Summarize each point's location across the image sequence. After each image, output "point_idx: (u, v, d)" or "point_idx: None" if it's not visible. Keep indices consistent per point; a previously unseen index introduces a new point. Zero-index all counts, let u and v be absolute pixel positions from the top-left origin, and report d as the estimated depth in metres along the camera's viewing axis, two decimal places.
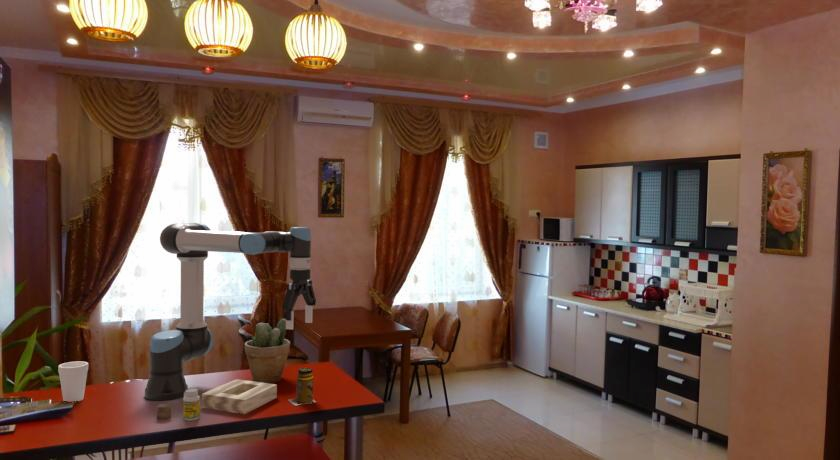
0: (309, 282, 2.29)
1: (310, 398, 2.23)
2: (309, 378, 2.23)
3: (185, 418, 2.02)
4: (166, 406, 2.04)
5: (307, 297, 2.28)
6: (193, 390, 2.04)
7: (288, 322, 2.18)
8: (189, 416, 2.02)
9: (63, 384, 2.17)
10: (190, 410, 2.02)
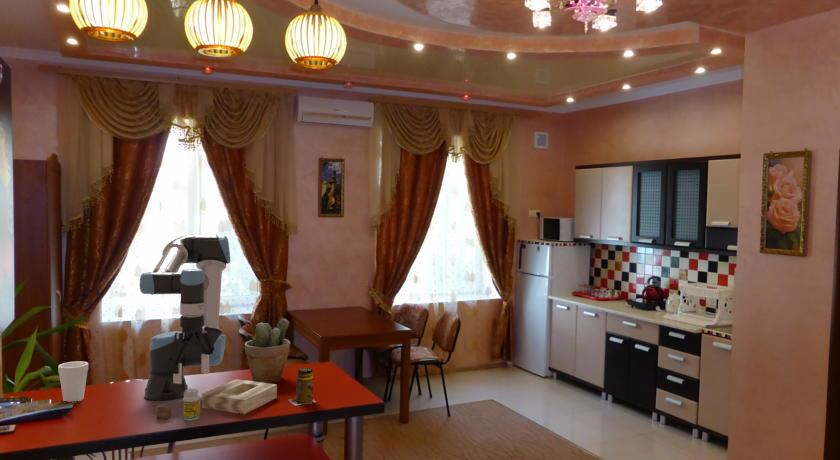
0: (205, 329, 2.08)
1: (310, 398, 2.23)
2: (309, 378, 2.23)
3: (185, 418, 2.02)
4: (166, 406, 2.04)
5: (202, 345, 2.08)
6: (193, 390, 2.04)
7: (175, 375, 1.97)
8: (189, 416, 2.02)
9: (63, 384, 2.17)
10: (190, 410, 2.02)
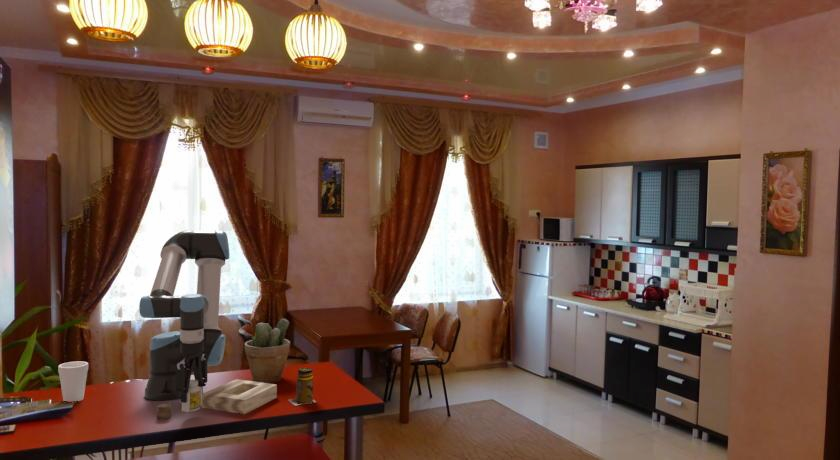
0: (204, 356, 2.09)
1: (310, 398, 2.23)
2: (309, 378, 2.23)
3: None
4: (166, 406, 2.04)
5: (198, 374, 2.06)
6: (193, 381, 2.04)
7: (184, 404, 2.02)
8: None
9: (63, 384, 2.17)
10: (190, 401, 2.02)
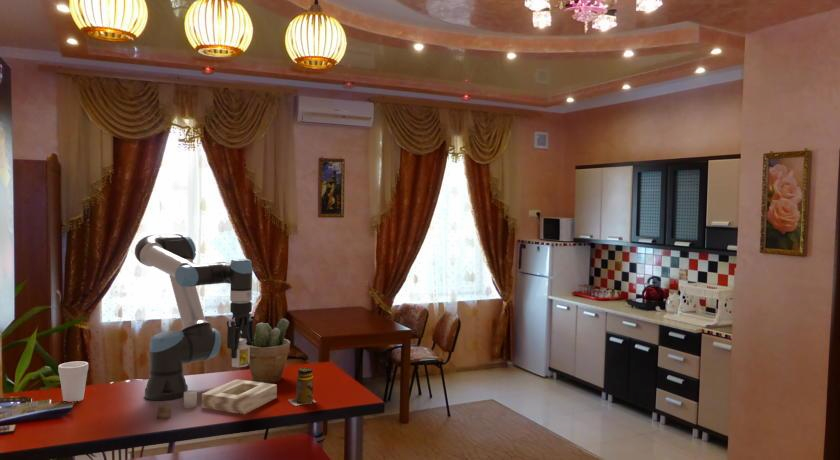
0: (251, 317, 2.25)
1: (310, 398, 2.23)
2: (309, 378, 2.23)
3: None
4: (166, 406, 2.04)
5: (246, 333, 2.23)
6: (242, 339, 2.21)
7: (234, 360, 2.18)
8: (239, 363, 2.18)
9: (63, 384, 2.17)
10: (240, 357, 2.18)
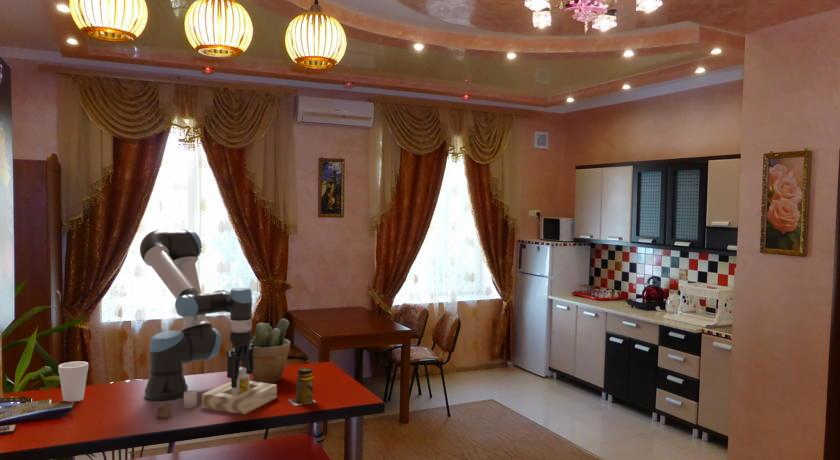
0: (251, 345, 2.26)
1: (310, 398, 2.23)
2: (309, 378, 2.23)
3: None
4: (166, 406, 2.04)
5: (245, 362, 2.23)
6: (242, 368, 2.21)
7: (234, 389, 2.18)
8: (239, 392, 2.19)
9: (63, 384, 2.17)
10: (240, 386, 2.19)
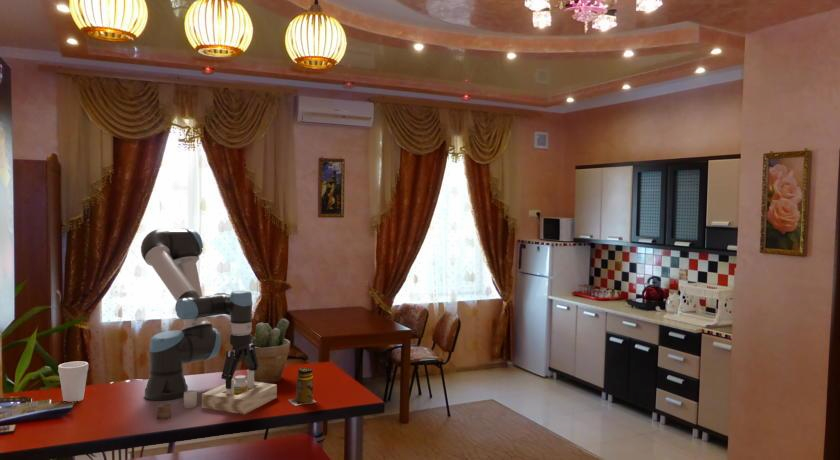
0: (251, 346, 2.26)
1: (310, 398, 2.23)
2: (309, 378, 2.23)
3: None
4: (166, 406, 2.04)
5: (248, 362, 2.25)
6: (242, 376, 2.21)
7: (228, 390, 2.16)
8: None
9: (63, 384, 2.17)
10: None
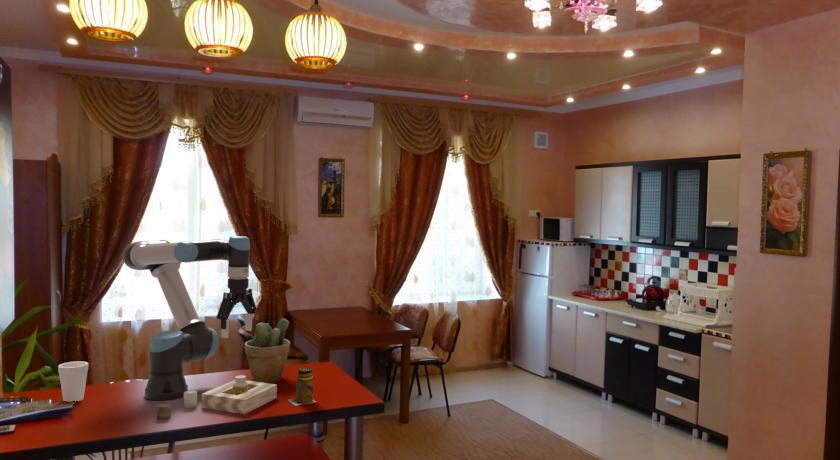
0: (249, 291, 2.31)
1: (310, 398, 2.23)
2: (309, 378, 2.23)
3: None
4: (166, 406, 2.04)
5: (246, 305, 2.31)
6: (242, 376, 2.21)
7: (223, 330, 2.20)
8: None
9: (63, 384, 2.17)
10: None
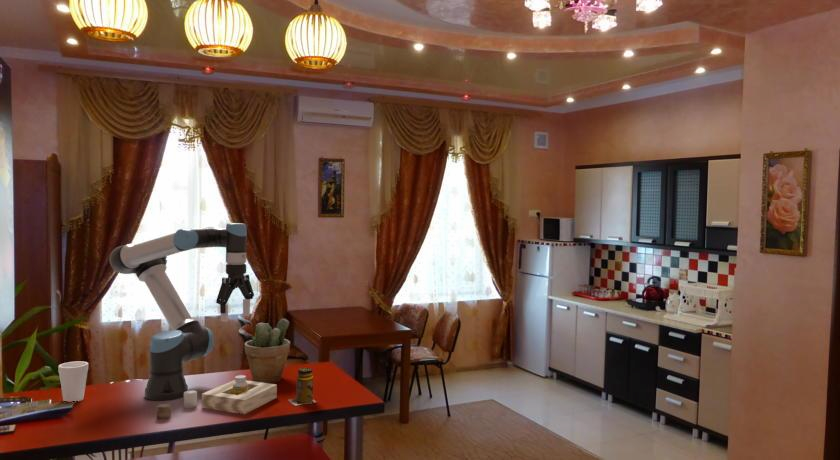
0: (246, 276, 2.37)
1: (310, 398, 2.23)
2: (309, 378, 2.23)
3: None
4: (166, 406, 2.04)
5: (244, 291, 2.36)
6: (242, 376, 2.21)
7: (223, 315, 2.25)
8: None
9: (63, 384, 2.17)
10: None
